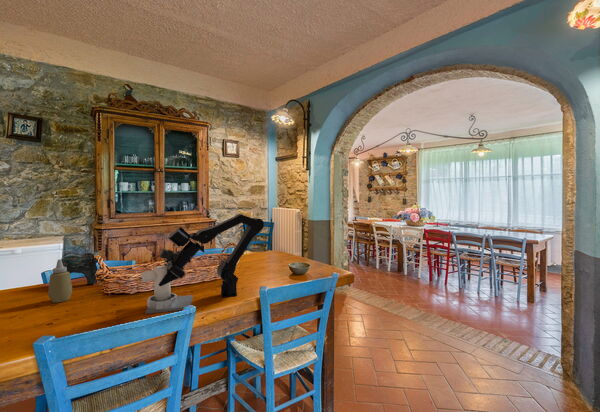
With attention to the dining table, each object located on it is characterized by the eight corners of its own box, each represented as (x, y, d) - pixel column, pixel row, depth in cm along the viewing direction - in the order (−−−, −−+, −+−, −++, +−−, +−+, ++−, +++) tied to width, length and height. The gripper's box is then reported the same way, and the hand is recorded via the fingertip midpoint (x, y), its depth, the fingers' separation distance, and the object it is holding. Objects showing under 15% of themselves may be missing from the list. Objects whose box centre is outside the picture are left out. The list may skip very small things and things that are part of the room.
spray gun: (102, 282, 148) (101, 244, 147) (94, 286, 142) (93, 247, 141) (63, 283, 147) (62, 245, 146) (53, 287, 141) (52, 247, 140)
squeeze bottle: (76, 298, 124) (75, 258, 124) (54, 305, 117) (53, 262, 116) (66, 296, 128) (65, 257, 127) (44, 302, 120) (43, 260, 120)
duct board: (192, 297, 126) (192, 288, 126) (189, 309, 113) (189, 299, 113) (152, 301, 122) (152, 291, 122) (144, 314, 108) (144, 303, 108)
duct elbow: (168, 295, 119) (167, 265, 119) (172, 299, 115) (172, 267, 115) (141, 301, 113) (140, 269, 112) (145, 305, 108) (144, 272, 108)
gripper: (169, 238, 124) (141, 266, 119) (175, 245, 108) (143, 277, 103) (188, 254, 129) (162, 282, 123) (196, 262, 113) (167, 294, 108)
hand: (158, 283), depth 114 cm, fingers closed on duct elbow, 6 cm apart
